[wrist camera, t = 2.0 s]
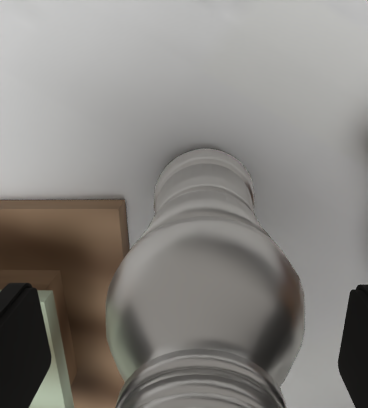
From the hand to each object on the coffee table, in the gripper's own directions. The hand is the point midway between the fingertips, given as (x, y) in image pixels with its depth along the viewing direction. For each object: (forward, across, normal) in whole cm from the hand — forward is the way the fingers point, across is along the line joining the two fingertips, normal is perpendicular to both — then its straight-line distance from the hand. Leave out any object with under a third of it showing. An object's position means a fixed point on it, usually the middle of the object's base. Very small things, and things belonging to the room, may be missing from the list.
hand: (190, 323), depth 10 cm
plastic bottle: (+16, 0, +1) cm, 16 cm away
